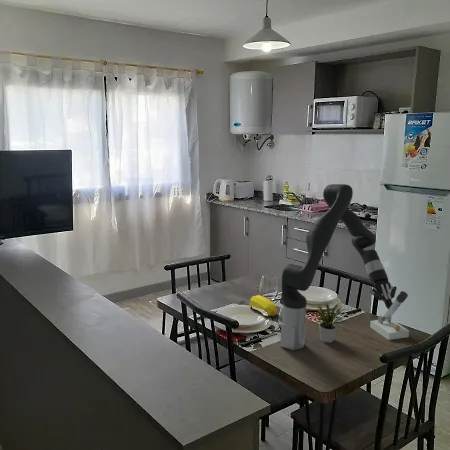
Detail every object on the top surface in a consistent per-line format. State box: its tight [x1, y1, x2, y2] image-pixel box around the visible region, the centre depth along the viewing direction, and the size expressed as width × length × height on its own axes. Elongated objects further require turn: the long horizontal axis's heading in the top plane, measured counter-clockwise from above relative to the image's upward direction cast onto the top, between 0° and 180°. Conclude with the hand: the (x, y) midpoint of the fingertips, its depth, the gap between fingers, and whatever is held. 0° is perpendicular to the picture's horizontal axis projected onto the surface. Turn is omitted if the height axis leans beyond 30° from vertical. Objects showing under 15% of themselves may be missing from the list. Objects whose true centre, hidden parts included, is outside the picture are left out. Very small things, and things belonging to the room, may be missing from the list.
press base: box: [369, 315, 410, 341], centre depth 197 cm, size 13×10×6 cm
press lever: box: [382, 290, 409, 322], centre depth 194 cm, size 3×3×19 cm
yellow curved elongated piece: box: [248, 294, 278, 317], centre depth 217 cm, size 18×7×8 cm
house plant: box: [315, 300, 349, 343], centre depth 188 cm, size 14×14×16 cm
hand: (390, 308), depth 196 cm, fingers closed
